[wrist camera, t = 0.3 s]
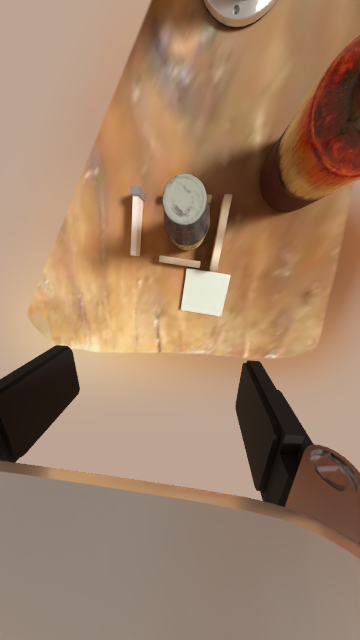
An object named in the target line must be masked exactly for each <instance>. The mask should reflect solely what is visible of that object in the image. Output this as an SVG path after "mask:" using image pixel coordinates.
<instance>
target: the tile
mask: <svg viewBox="0 0 360 640" xmlns="http://www.w3.org/2000/svg"><path fill="white" fill-rule="evenodd" d="M230 276H231V275H229V274H222V273H216V272H209V271H203V270H196V269H190V268H187V271H186V278H185V284H184V291H183V298H182V305H181V310H185V311H191V312H197V313H203V314H209V315H215V316H221V314H222V310H223V306H224V301H225V297H226V293H227V289H228V284H229V280H230Z"/></svg>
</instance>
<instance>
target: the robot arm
mask: <svg viewBox="0 0 360 640" xmlns="http://www.w3.org/2000/svg"><path fill="white" fill-rule="evenodd" d="M203 1H204V3H205V5H206V7H207V9H208V10H209V11H210V13H211V14H212V16H213V17H215V18H216V19H217V20H218V21H219V22H221V23H223V24H225V25H227V26H232V27H240V26H246V25H248V24H251V23H253V22H255V21H256V20H258V19H259V18H261V17H262V16H263V15H264V14H265V13H266V12H267V11H268V10H269V9H270V8H271V7H272V6H273V5H274V3H275V2H276V1H277V0H203ZM79 390H80V387H79V382H78V377H77V372H76V367H75V362H74V357H73V352H72V350H71V349H70V348H69V347H68V346H60V345H56V346H54V347H53V348H51V349H49V350H48V351H46V352H44V353H43V354H41V355H39V356H38V357H36V358H35V359H33V360H31V361H30V362H28V363H26V364H25V365H23V366H21V367H20V368H18V369H17V370H15V371H13V372H12V373H10V374H8V375H7V376H5V377H3V378H2V379H0V640H360V473H359V471H358V470H357V469H356V468H355V467H354V465H352V464H351V463H350V462H349V461H348V460H347V459H346V458H345V457H343V456H342V455H340V454H339V453H337V452H336V451H334V450H332V449H330V448H328V447H324V446H321V445H314V444H313V443H312V441H311V440H310V438H309V436H308V435H307V433H306V431H305V430H304V428H303V427H302V425H301V423H300V422H299V420H298V418H297V417H296V415H295V414H294V412H293V410H292V409H291V407H290V406H289V404H288V402H287V401H286V399H285V397H284V396H283V394H282V393H281V392H280V391H279V390H277V389H276V388H275V386H274V384H273V383H272V381H271V379H270V378H269V376H268V374H267V373H266V371H265V369H264V368H263V366H262V364H261V363H260V362H259V361H247V363H243V366H242V372H241V377H240V383H239V388H238V394H237V400H236V412H237V417H238V420H239V425H240V429H241V433H242V437H243V441H244V445H245V449H246V453H247V457H248V461H249V465H250V469H251V474H252V478H253V481H254V485H255V488H256V490H257V491H260V492H261V495H262V499H263V501H260V500H255V499H251V498H246V497H241V496H235V495H229V494H223V493H217V492H212V491H206V490H199V489H194V488H187V487H180V486H174V485H167V484H159V483H153V482H146V481H139V480H133V479H126V478H120V477H112V476H106V475H99V474H92V473H85V472H78V471H70V470H63V469H56V468H49V467H42V466H35V465H27V464H20V463H15V462H16V461H17V460H18V459H19V458H20V457H22V456H23V455H24V454H26V453H27V451H28V450H29V449H30V448H31V447H32V446H33V445H34V443H35V442H36V441H37V440H38V439H39V438H40V436H42V434H43V433H44V432H45V431H46V430H47V429H48V428H49V427H50V425H51V424H52V423H53V422H54V421H55V420H56V419H57V417H58V416H59V415H60V414H61V413H62V412H63V411H64V410H65V408H66V407H67V406H68V405H69V404H70V403H71V402H72V401H73V399H74V398H75V397H76V396H77V395H78V393H79Z"/></svg>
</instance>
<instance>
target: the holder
mask: <svg viewBox="0 0 360 640" xmlns="http://www.w3.org/2000/svg"><path fill="white" fill-rule="evenodd" d="M206 195H207V203H208V205H209V207H210V204H211V198H212V195H208V194H206ZM231 200H232V194H225V195H224V197H223V200H222V204H221V209H220V214H219V219H218V224H217V230H216V235H215V240H214V245H213V251H212V256H211V261H210V266H209V269H210V270H213V271H217V267H218V262H219V258H220V253H221V248H222V243H223V238H224V233H225V229H226V224H227V219H228V214H229V209H230V204H231ZM159 262H163V263H170V264H176V265H183V266H189V267H196V268H200V262H201V261H195V260H188V259H182V258H175V257H168V256H161V255H159Z"/></svg>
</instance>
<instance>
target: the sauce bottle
mask: <svg viewBox="0 0 360 640" xmlns="http://www.w3.org/2000/svg"><path fill="white" fill-rule="evenodd" d="M162 202H163V209H164V227H165V230H166V231H167V233H168V235H169V237H170V239H171V240H172V241H173V242H174V243H175V244H176V245H177V246H178V247H179V248H180V249H182V250H187V251H189V250H193V249H196V248H197V247H199V246H200V245H201V243H202V242H203V240H204V238H205V236H206V234H207V232H208V230H209V226H210V207H209V205H208V203H207V195H206V189H205V187H204V185H203V183H202V182H201V181H200V180H199V179H198V178H197V177H195V176H194V175H190V174H179V175H177V176H175V177H174V178H173V179H171V180H170V181H169V182H168V184H167V185H166V187H165V189H164V193H163V200H162Z"/></svg>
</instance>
